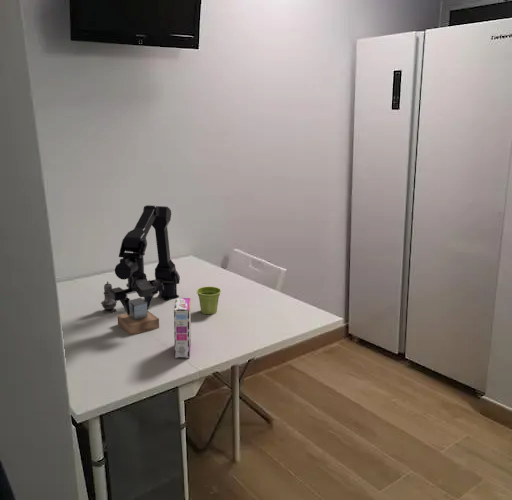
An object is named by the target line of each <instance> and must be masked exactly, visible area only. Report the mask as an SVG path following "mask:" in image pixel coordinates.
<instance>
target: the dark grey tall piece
mask: <svg viewBox="0 0 512 500" xmlns="http://www.w3.org/2000/svg"><path fill="white" fill-rule="evenodd" d="M112 285H113V284H111V283H109V281H108V280H107V281H106V283H105V284H104V285H103V289H104V292H103V293H102V294H103V295H104V300H102V301H101V302H100V304H101V307H102V308H103V310H102V311H103V312H104V313H103V312H102V313H103V314H107V313H109V314H114V313H116V312H117V309H116V305H117V302H118V301H115V300H113V299H112V298H110V297H109V290H110V289H113V286H112ZM113 312H114V313H113Z"/></svg>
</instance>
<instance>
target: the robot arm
mask: <svg viewBox="0 0 512 500" xmlns="http://www.w3.org/2000/svg"><path fill="white" fill-rule="evenodd" d="M171 217H172V210H171V208H169V207H168V206H166V205H165V206H163V205H162V206H161V205H160V206H159V205H150V204H146V205H144V207H143V211H142V213H141V215H140V217H139V219H138V220H137V223H136V224H135V227H134V228H133V229H132V230H130V231H128V232H126V234H125V236H124V237H123V238H122V240H121V245H120V249H119V253H118V258H120V259H119V263H117V264H116V265H115V267H114V274H115V276H116V277H117V278H118V279H120V280H123V281H124V280H127V283H126V288H125V289H123V288H121V287H119V286H118V287H114V288H113V287H112V289H110V290H109V297H110V298H112V299H113V300H115V301H117V302H118V301H120V303H121V305H122V307H123V308H124V310H125V314H126V313H127V314H128V315H130V309H129V300H131V299H130V298H129V297H128V295H131V294H135V293H136V294H137V295H138V296H139V298H143V299H144V300H145V301H147V310H148V311H149V308H150V305H151V302H152V300H153V297H154V296H155V295H156V294H158V295H157V296H158V297H159V298H161V299H163V300H164V301H168V300H171V299H175V298H179V297H180V296H179V294H178V289H177V288H178V285H179V284H180V280H181V279H180V278H181V277H180V274H179V273H178V271H177V270H176V269H177V267H176V264H175V263H174V262H173V261H172V260H171V253H170V241H169V232H168V225H169V224H170V222H171ZM152 227H153V229H154V231H155V243H156V251H157V259H158V263H157V265H156V266H155V268H154V277H155V278H154V279H151V280H150V279H149V280H148V278H147V274H146V273H145V263H144V256H145V255H146V253H145V252H146V249H147V246H148V241H147V236H148V234H149V232H150V229H151V228H152Z"/></svg>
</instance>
